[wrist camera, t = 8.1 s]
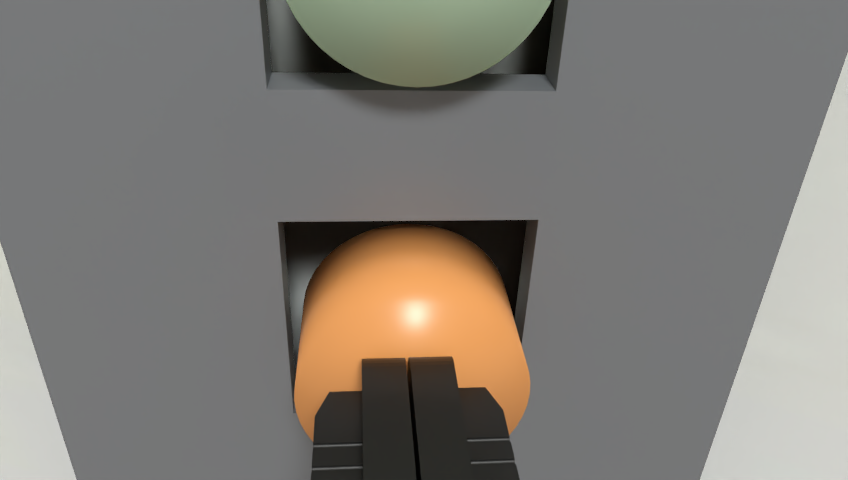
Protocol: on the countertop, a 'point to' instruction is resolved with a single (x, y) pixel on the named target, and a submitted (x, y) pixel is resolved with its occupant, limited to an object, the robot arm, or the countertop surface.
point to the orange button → (408, 316)
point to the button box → (399, 217)
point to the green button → (418, 35)
